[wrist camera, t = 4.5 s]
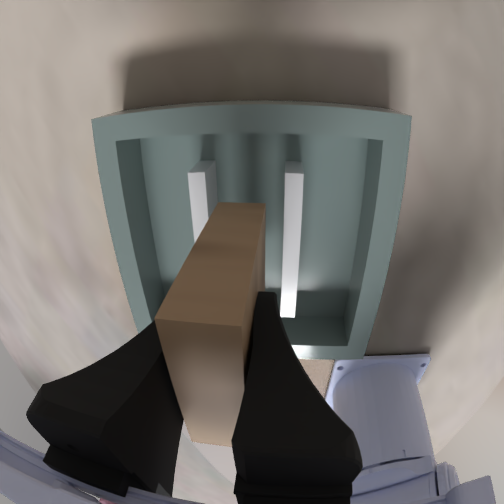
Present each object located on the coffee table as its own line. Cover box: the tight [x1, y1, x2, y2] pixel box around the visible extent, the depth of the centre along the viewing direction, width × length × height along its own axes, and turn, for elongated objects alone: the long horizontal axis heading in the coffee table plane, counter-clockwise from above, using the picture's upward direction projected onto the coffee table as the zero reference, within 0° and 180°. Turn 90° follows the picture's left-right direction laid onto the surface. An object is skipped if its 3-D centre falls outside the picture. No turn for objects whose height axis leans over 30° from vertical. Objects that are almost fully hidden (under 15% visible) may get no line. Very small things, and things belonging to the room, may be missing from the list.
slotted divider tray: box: [91, 100, 412, 360], centre depth 17 cm, size 14×14×3 cm
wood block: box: [154, 202, 266, 447], centre depth 12 cm, size 6×2×8 cm, turn 1°
